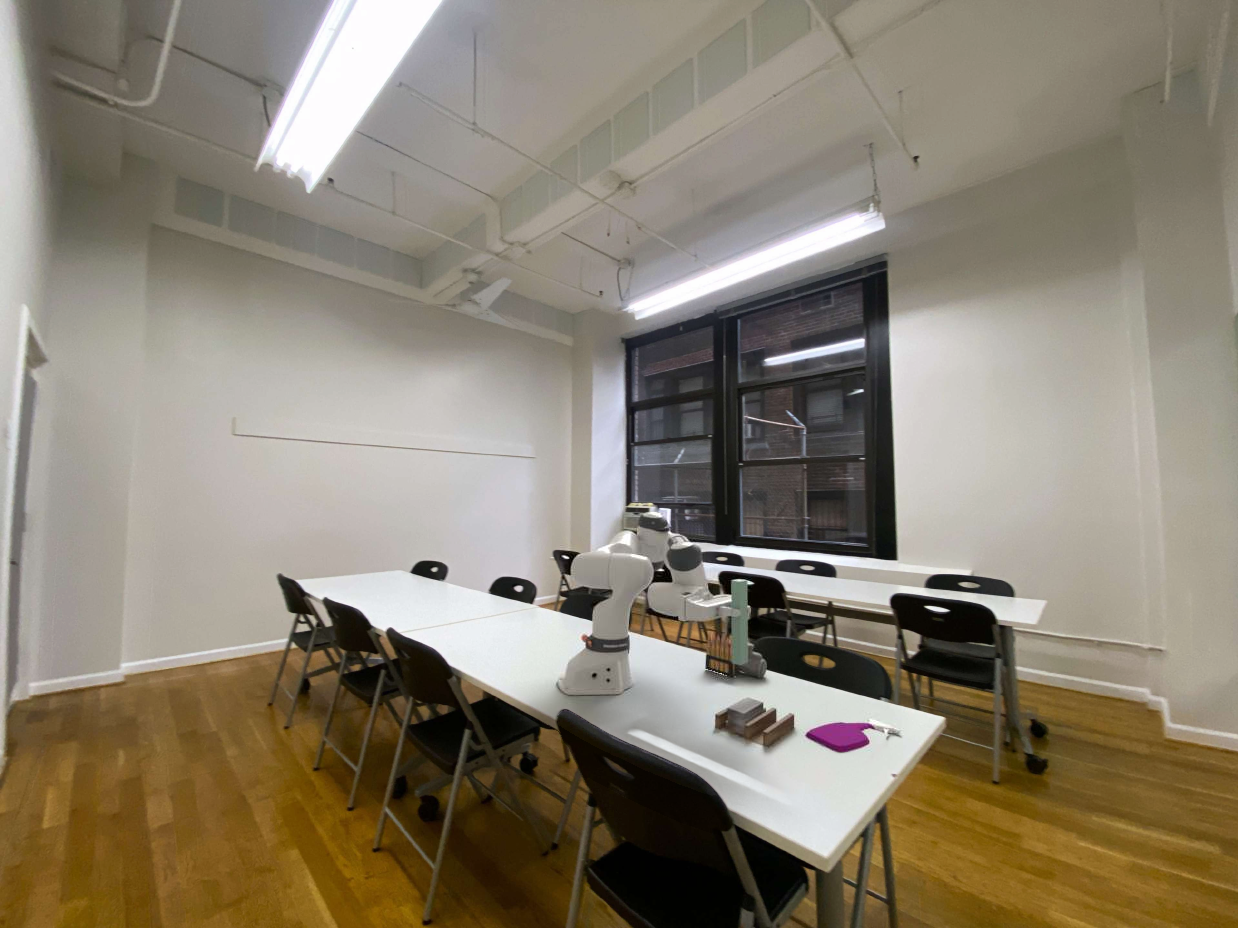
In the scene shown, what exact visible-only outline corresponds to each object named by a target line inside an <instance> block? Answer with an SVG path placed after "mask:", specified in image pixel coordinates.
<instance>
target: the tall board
mask: <svg viewBox="0 0 1238 928" xmlns="http://www.w3.org/2000/svg"><path fill="white" fill-rule="evenodd" d="M730 581H731V582H730V587H731V588H730V591H731V593H730V595H731V608H738V609H740V610H741V615H740V616H738V617H734V616H731V639H732V663H734V664H737V665H743V664H745V663H747V662H748V642H749V634H748V633H749V632H748V631H749V625H748V624H749V622H748V621H749V620H748V619H749V618H748V616H749V615H748V614H749V613H748V606H749V605H748V580H747V579H740V578H738V579H732V580H730Z"/></svg>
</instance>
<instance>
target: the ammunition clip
mask: <svg viewBox="0 0 1238 928" xmlns="http://www.w3.org/2000/svg"><path fill="white" fill-rule="evenodd" d="M706 642H707V644H706V653H705V666H704V667H705V668H704V669H708V670H712V671H715V672H718V673H722V674H724V675H727V676H730V677H735V676H736V677H737V672H736V664H734V663H732V638H731V639H729V637H727V636H726V640H725V638H724V636H721V639H720V635H717V636H715V634H714V633H713V634H712V637H711V633H710V632H709V633H708V635H707V641H706ZM727 676H726V677H727ZM730 677H729V678H730ZM736 677H735V678H736Z"/></svg>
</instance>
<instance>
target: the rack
mask: <svg viewBox="0 0 1238 928" xmlns="http://www.w3.org/2000/svg"><path fill="white" fill-rule="evenodd" d="M738 702H739V701H737V702H736V703H738ZM736 703H733V704H732V705H734V704H736ZM727 708H728V707H726V708H724V709H722V710H721V711H718V712H717V713H715V714H714V717H715V718H714V719H715V720H714V728H715V729H718V730H721V731H723V732H727V733H729V734H731V735H734V736H737V737H739V738H742V739H743V740H744V739H745V740H746V741H750V742H752V743H755V744H758V745H760V746H762V747H765V748H770V747H772V746H773V745H774V744H775V743H777V742H778V741H779V740H781V739H782V738H784V737H785V736H786V735H788V734H789V733H790V732H792V731H793V730H795V729H796V727H795V714H794V713H791V712H790V713H788V714H787V715H785V716H783V717H782V718H781V719H779V720H777V719H778V718H777V708H776V707H771V708H769V709H768V710H766V712H764V713H763V714H761V715H760V716H758V717H756V718H755V719H753V720H751V721H750V722H748V723H747V724H745V735H743V734H740V733H738V732H735V731H732V730H729V729H727V728H725V721H727V720H728V715H727Z"/></svg>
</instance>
